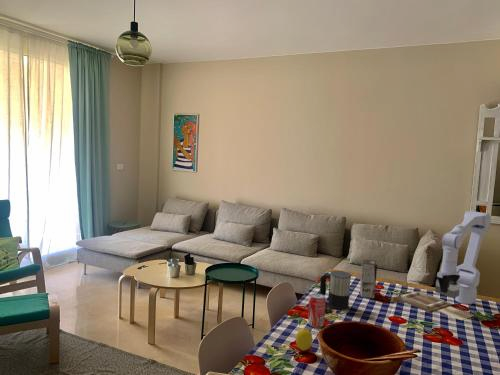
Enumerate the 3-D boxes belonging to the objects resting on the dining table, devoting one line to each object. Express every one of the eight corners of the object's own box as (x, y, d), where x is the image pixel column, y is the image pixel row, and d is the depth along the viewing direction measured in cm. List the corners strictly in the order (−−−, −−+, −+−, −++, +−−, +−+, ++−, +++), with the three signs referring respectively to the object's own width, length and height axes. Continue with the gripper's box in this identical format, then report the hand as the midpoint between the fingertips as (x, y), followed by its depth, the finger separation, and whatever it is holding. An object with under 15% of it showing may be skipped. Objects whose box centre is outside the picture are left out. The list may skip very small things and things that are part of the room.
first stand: (449, 309, 179) (450, 306, 179) (474, 318, 170) (475, 315, 170) (436, 314, 173) (436, 310, 173) (461, 323, 164) (461, 320, 164)
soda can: (314, 329, 151) (316, 299, 150) (304, 323, 157) (306, 293, 156) (327, 327, 154) (329, 297, 153) (317, 320, 160) (319, 291, 159)
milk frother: (350, 304, 179) (352, 272, 178) (346, 317, 165) (349, 282, 163) (318, 299, 184) (320, 267, 183) (312, 311, 169) (314, 277, 168)
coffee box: (375, 298, 188) (377, 265, 187) (360, 296, 190) (363, 263, 188) (373, 292, 197) (375, 260, 196) (359, 290, 199) (362, 259, 197)
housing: (441, 290, 179) (442, 278, 178) (458, 296, 172) (460, 283, 172) (435, 292, 176) (436, 280, 176) (452, 298, 170) (454, 285, 169)
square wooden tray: (416, 295, 196) (416, 289, 196) (451, 308, 181) (452, 301, 181) (393, 301, 186) (393, 295, 186) (429, 315, 171) (429, 308, 171)
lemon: (293, 346, 137) (295, 324, 137) (309, 346, 138) (310, 324, 137) (296, 354, 132) (298, 331, 131) (313, 354, 132) (314, 331, 132)
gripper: (449, 265, 166) (446, 296, 167) (467, 261, 174) (464, 291, 175) (433, 261, 171) (431, 291, 173) (451, 257, 180) (449, 286, 181)
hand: (446, 291), depth 174 cm, fingers closed on housing, 5 cm apart
